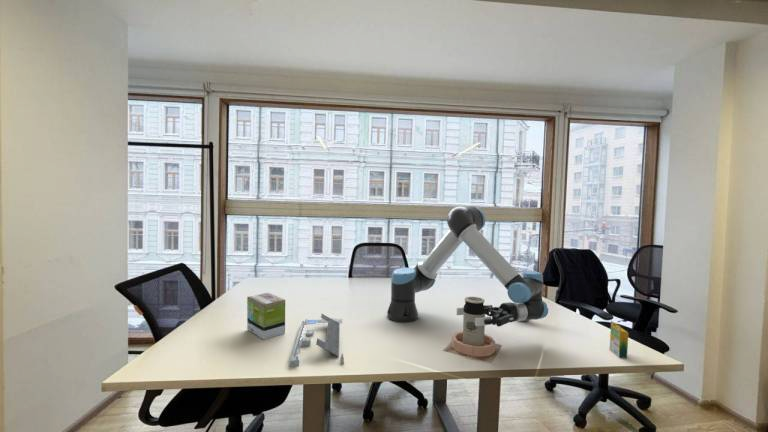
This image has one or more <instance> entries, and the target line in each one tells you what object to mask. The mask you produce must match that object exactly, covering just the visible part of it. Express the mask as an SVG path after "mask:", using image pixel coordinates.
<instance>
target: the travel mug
mask: <svg viewBox="0 0 768 432" xmlns="http://www.w3.org/2000/svg"><path fill="white" fill-rule="evenodd" d="M484 303H485V299H484V298H482V297H479V296H466V297H464V305H463V307H464V310H463V315H462V316H463V317H462V318H463V319H462V322H463V323H462V332H463V344H467V345H471V346H484V334H485V330H486V329H485V327H486V325H482V326H475V318H481V317H486V314H485V307H484V305H485V304H484Z"/></svg>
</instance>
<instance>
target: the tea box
mask: <svg viewBox="0 0 768 432" xmlns="http://www.w3.org/2000/svg"><path fill="white" fill-rule="evenodd" d="M246 299H247V301H246V304H247V307H246V311H247V312H246V313H247V314H246V317H247V318H246V320H247V321H246V323H247V325H246V326H247V327H246V328H247V330H248V331H249V332H251V333H253V334H254V335H256V336H257V337H259V338H260V339H262V340H263V339H265V340H267V339H272V338H274V336H275V337H278V336H281V335H285V334H286V299H284V298H282V297H279V296H277V295H275V294H272V293H270V292H264V293H260V294H253V295H250V296H247V297H246ZM271 337H272V338H271Z"/></svg>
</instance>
